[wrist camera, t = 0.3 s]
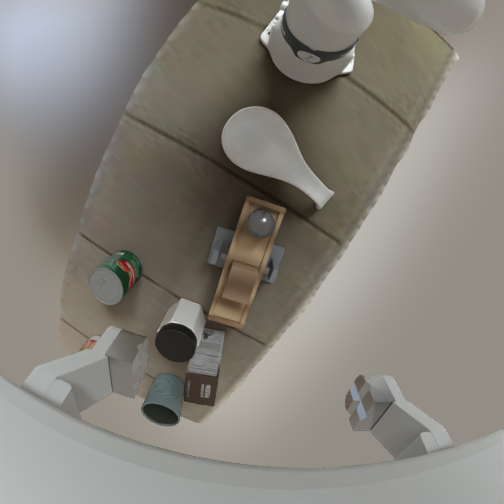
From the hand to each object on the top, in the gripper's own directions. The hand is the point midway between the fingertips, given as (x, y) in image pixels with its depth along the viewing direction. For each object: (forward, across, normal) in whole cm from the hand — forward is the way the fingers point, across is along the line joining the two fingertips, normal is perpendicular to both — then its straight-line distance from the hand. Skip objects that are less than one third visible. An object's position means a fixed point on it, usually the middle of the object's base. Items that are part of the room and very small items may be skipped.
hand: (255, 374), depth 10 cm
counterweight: (+41, -2, +3) cm, 41 cm away
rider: (+40, -1, +14) cm, 42 cm away
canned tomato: (+46, +24, +20) cm, 56 cm away
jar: (+46, +9, +29) cm, 55 cm away
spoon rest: (+46, -3, -8) cm, 47 cm away
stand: (+46, -1, +12) cm, 47 cm away
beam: (+41, -1, +12) cm, 42 cm away
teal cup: (+46, +11, +54) cm, 72 cm away
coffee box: (+46, +2, +36) cm, 58 cm away
